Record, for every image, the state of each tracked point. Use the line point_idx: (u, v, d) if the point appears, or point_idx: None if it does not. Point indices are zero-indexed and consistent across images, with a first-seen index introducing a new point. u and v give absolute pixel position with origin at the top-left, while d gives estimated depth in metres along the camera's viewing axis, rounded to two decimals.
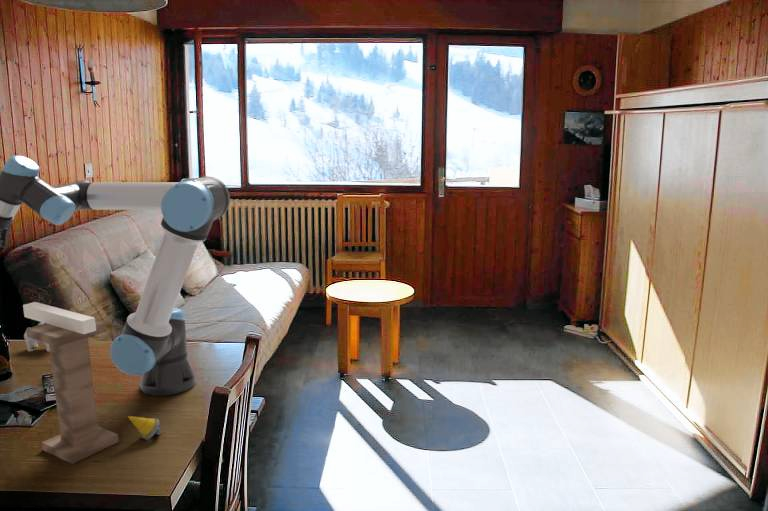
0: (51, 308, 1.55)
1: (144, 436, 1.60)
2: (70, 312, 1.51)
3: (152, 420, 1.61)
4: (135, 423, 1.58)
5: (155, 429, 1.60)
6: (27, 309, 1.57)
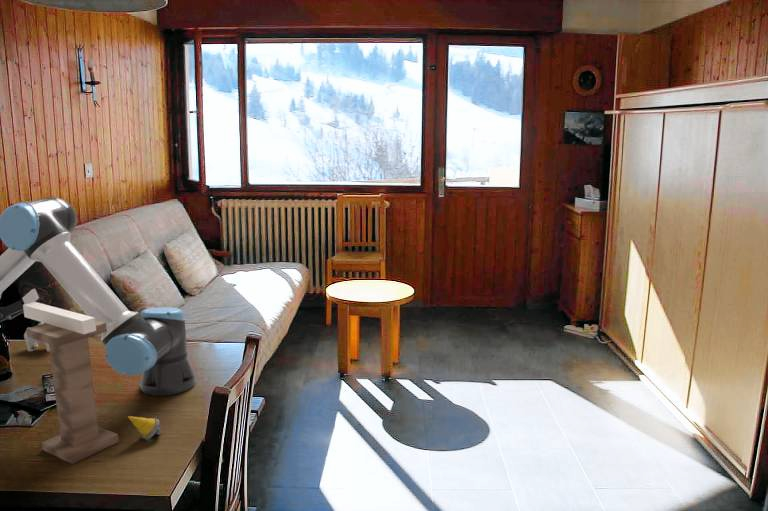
0: (51, 308, 1.55)
1: (144, 436, 1.60)
2: (70, 312, 1.51)
3: (152, 420, 1.61)
4: (135, 423, 1.58)
5: (155, 429, 1.60)
6: (27, 309, 1.57)
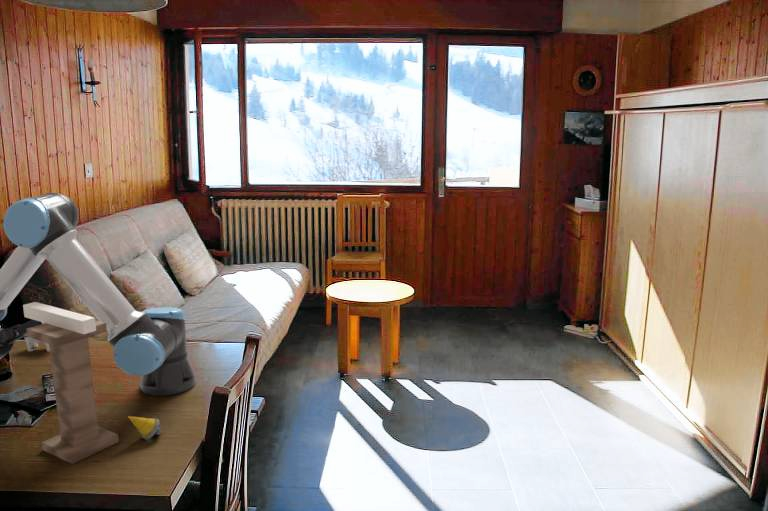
0: (51, 308, 1.55)
1: (144, 436, 1.60)
2: (70, 312, 1.51)
3: (152, 420, 1.61)
4: (135, 423, 1.58)
5: (155, 429, 1.60)
6: (27, 309, 1.57)
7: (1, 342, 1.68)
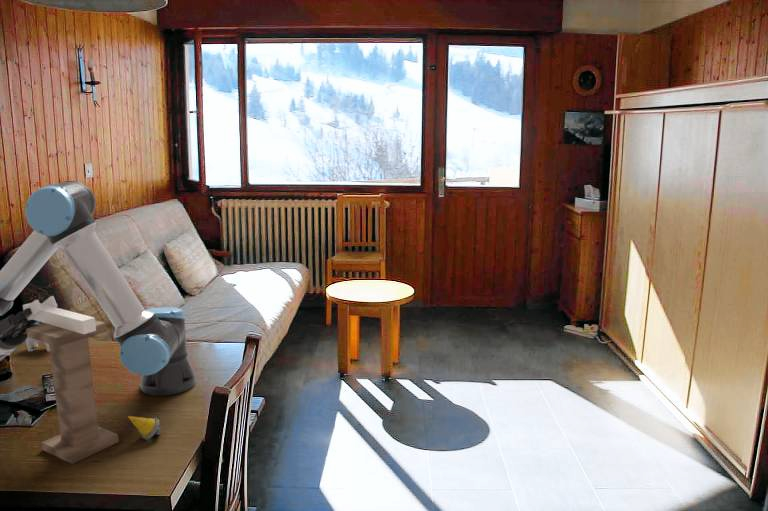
0: (51, 308, 1.55)
1: (144, 436, 1.60)
2: (70, 312, 1.51)
3: (152, 420, 1.61)
4: (135, 423, 1.58)
5: (155, 429, 1.60)
6: None
7: None
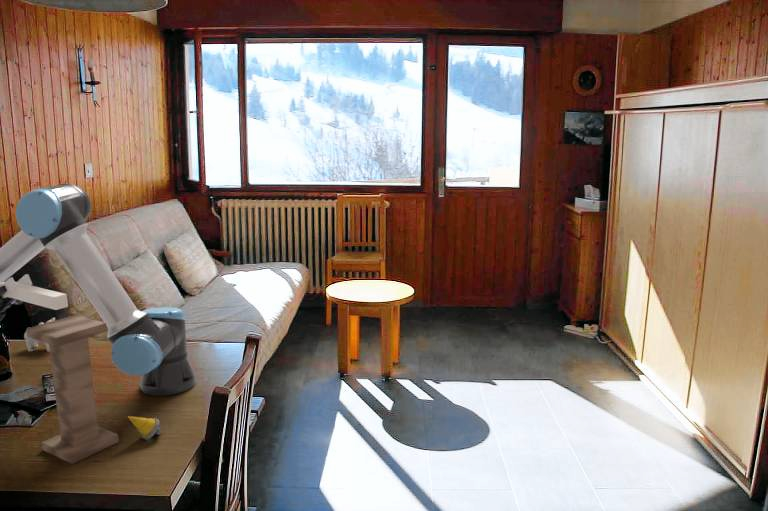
0: (25, 286, 1.59)
1: (144, 436, 1.60)
2: (43, 289, 1.56)
3: (152, 420, 1.61)
4: (135, 423, 1.58)
5: (155, 429, 1.60)
6: None
7: None
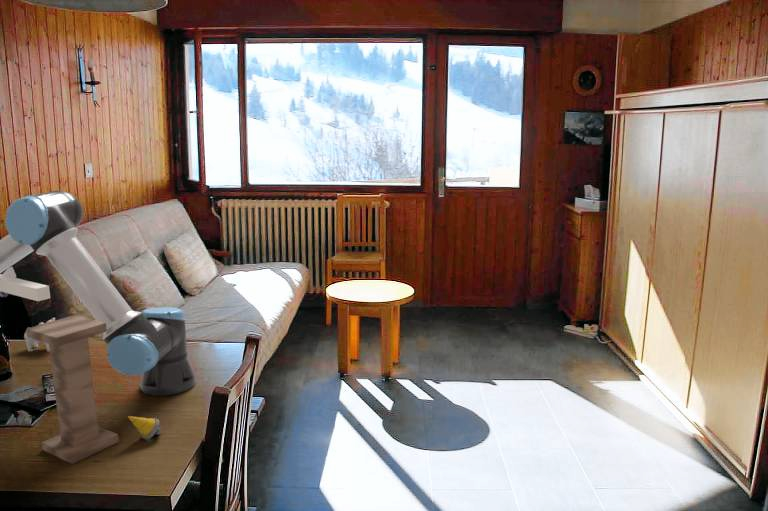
0: (9, 278, 1.63)
1: (144, 436, 1.60)
2: (27, 281, 1.59)
3: (152, 420, 1.61)
4: (135, 423, 1.58)
5: (155, 429, 1.60)
6: None
7: None
